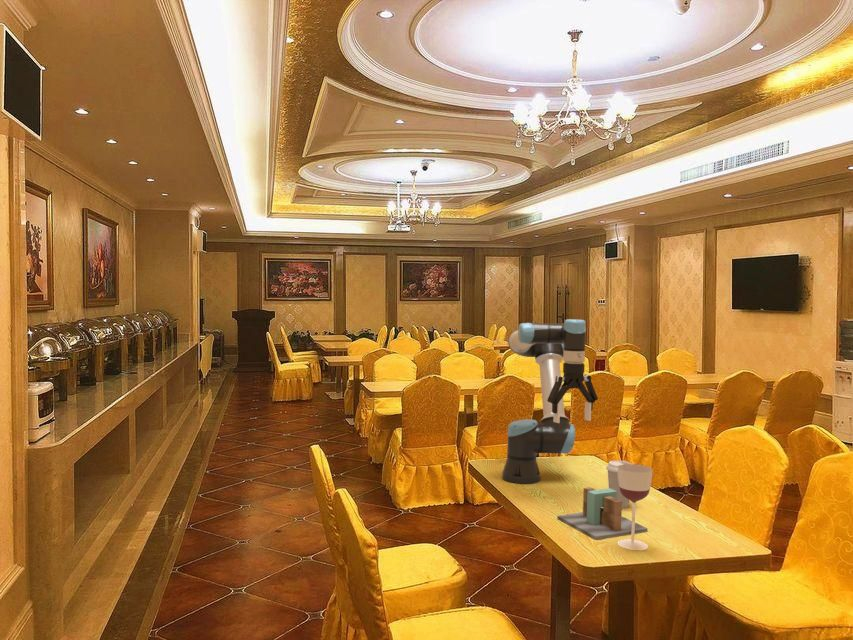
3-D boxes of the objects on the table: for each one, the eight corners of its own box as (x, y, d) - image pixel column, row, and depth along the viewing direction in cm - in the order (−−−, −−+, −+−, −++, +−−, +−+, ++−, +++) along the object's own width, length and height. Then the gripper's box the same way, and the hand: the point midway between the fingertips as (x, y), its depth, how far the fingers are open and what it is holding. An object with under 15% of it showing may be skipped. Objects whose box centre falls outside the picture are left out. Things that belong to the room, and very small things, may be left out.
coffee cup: (634, 510, 226) (636, 467, 225) (606, 508, 228) (607, 465, 227) (631, 502, 235) (633, 461, 235) (604, 500, 237) (605, 459, 237)
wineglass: (610, 539, 199) (612, 464, 198) (642, 538, 200) (644, 464, 199) (622, 550, 190) (624, 472, 189) (655, 550, 191) (658, 472, 190)
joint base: (557, 518, 216) (558, 488, 216) (606, 511, 224) (606, 482, 224) (595, 539, 198) (596, 507, 197) (647, 531, 206) (648, 500, 205)
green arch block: (586, 521, 211) (587, 491, 210) (609, 518, 214) (609, 488, 214) (593, 525, 208) (594, 494, 207) (616, 521, 211) (617, 491, 211)
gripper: (550, 364, 226) (549, 425, 227) (608, 362, 236) (606, 421, 237) (538, 362, 233) (537, 421, 234) (595, 360, 243) (593, 417, 244)
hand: (572, 421), depth 235 cm, fingers open, 13 cm apart
